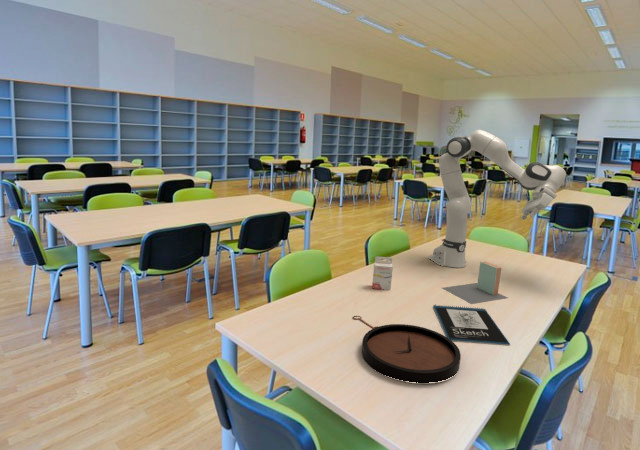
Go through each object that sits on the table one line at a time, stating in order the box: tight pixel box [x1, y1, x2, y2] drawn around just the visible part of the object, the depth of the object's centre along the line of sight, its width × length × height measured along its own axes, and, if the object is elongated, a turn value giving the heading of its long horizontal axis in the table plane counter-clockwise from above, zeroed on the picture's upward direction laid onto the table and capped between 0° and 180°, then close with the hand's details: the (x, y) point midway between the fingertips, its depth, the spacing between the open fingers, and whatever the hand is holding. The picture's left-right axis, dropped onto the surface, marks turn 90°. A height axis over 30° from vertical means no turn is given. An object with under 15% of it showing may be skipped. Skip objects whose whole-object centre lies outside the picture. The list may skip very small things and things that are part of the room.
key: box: [352, 315, 379, 330], centre depth 158 cm, size 6×1×15 cm
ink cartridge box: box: [371, 255, 394, 291], centre depth 194 cm, size 9×5×15 cm, turn 84°
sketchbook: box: [432, 304, 511, 346], centre depth 161 cm, size 22×30×2 cm
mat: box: [441, 282, 509, 305], centre depth 193 cm, size 20×22×1 cm
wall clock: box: [361, 323, 462, 383], centre depth 136 cm, size 31×4×31 cm
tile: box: [476, 260, 502, 295], centre depth 195 cm, size 10×3×13 cm, turn 24°
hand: (527, 218), depth 201 cm, fingers open, 8 cm apart
